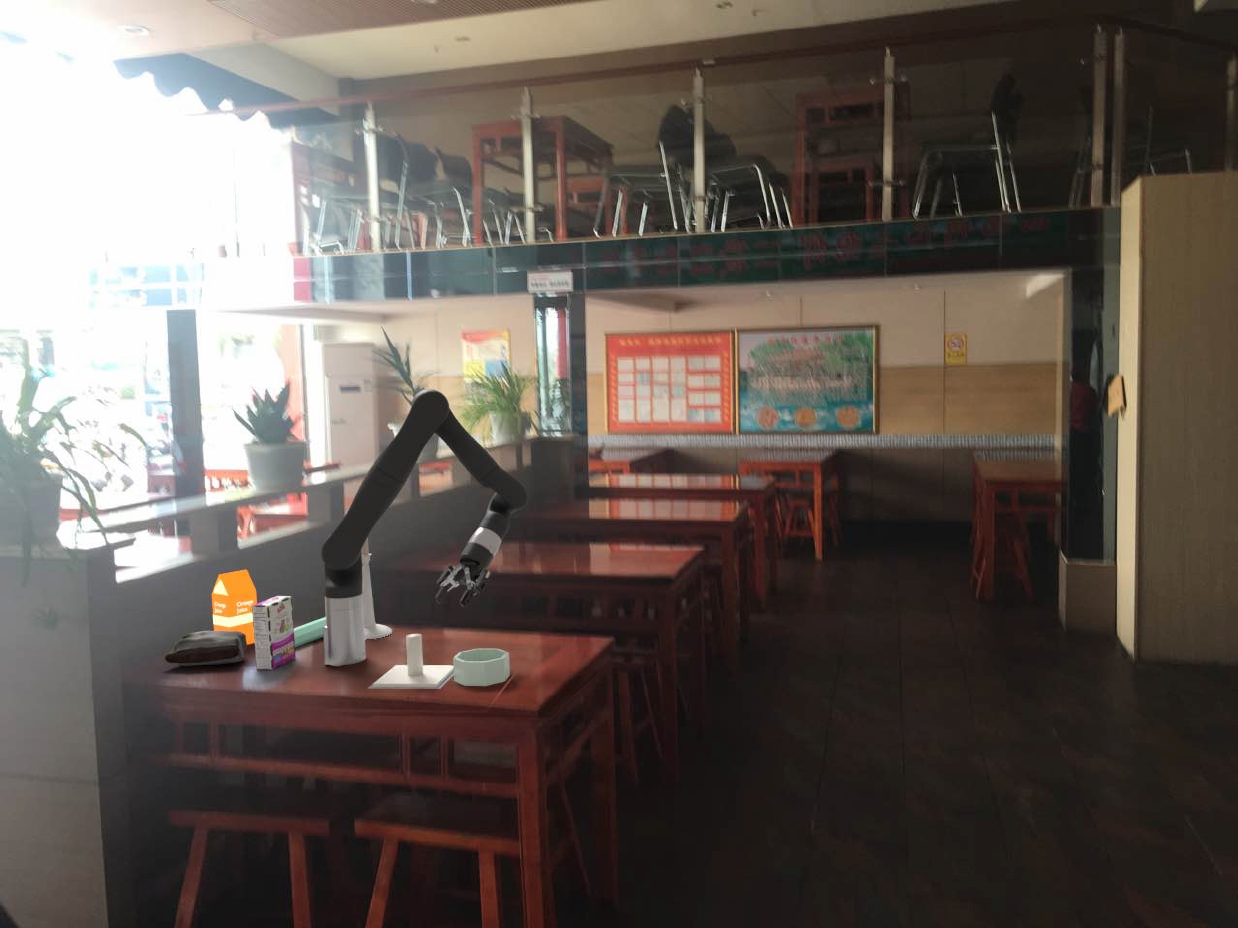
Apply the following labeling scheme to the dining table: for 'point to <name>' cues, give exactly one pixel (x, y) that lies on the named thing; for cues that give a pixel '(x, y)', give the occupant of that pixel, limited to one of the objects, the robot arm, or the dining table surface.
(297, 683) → the dining table surface
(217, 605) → the orange juice
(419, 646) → the cover
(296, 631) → the container
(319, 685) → the dining table surface
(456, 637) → the dining table surface
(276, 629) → the candy bar box
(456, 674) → the bowl
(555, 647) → the dining table surface
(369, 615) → the candlestick
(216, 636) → the dark pillow-shaped pouch
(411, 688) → the mat
